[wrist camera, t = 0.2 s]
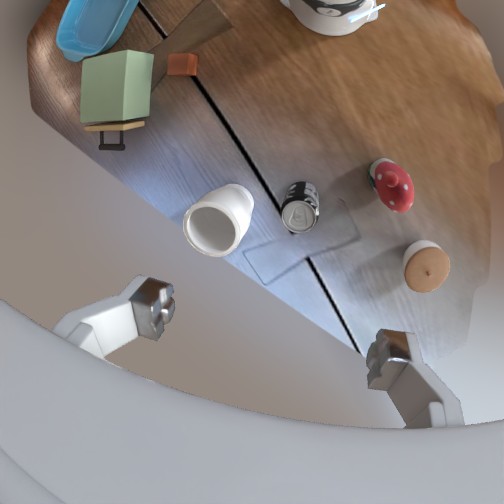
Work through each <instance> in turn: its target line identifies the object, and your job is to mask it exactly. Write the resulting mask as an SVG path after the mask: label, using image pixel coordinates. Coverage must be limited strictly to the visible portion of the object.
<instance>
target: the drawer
mask: <svg viewBox="0 0 504 504" xmlns="http://www.w3.org/2000/svg"><path fill="white" fill-rule="evenodd" d="M141 126H144V121H116V122H104V123H99V124H94V125H90V126H85V132H88V131H100V145H99V150H116V151H123V150H125V144H123V130H127V129H132V128H136V127H141ZM114 130H120V144H103V143H104V140H103V131H114Z"/></svg>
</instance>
